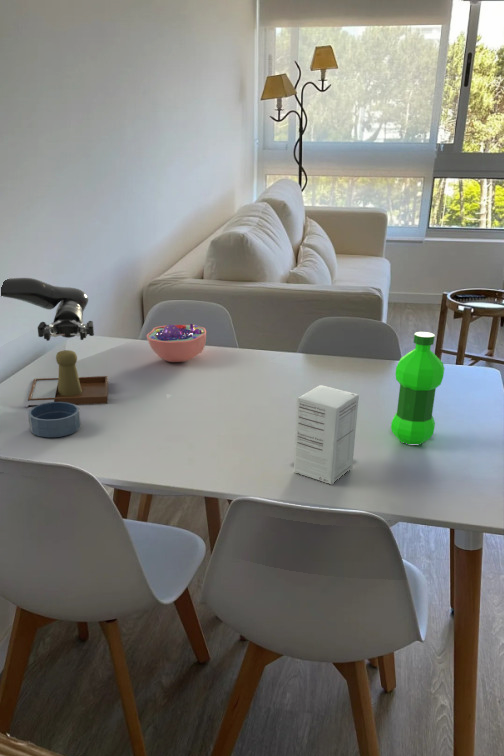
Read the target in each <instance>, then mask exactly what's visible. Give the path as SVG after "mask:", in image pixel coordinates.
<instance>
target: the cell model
mask: <svg viewBox="0 0 504 756" xmlns="http://www.w3.org/2000/svg"><path fill="white" fill-rule="evenodd" d="M146 339H147V342H148V344H149V347H150V349H151V350H152V351H153V352H154V353H155V355H156V356H157V357H159V358H160V359H162V360H163V361H166V362H168V363H183V362H187V361H191V360H193V359H194V358H195V357H197V356H198V355H200V354H201V353H203V351H204V349H205V347H206V341H207V330H206V328H205V327H203V326H199V325H197V324H193V323H190V324H167V325H160V326H155V327H153V328H152V330H150V332H148V333H147V334H146Z"/></svg>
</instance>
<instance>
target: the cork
mask: <svg viewBox="0 0 504 756" xmlns="http://www.w3.org/2000/svg"><path fill="white" fill-rule="evenodd" d="M55 361H56V363H57V365H58V377H57V378H58V380H57V385H58V394H59V395H60V396H65V397H70V396H77V395H79V394H81V393H82V390H81V386H80V382H79V377H80V376H79V373H78V369H77V365H76V363H78V355H77V353H76V352H75V351H73V350H69V349H67V350H66V349H65V350H60V351H58V352H56V355H55Z"/></svg>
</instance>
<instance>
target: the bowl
mask: <svg viewBox="0 0 504 756" xmlns="http://www.w3.org/2000/svg"><path fill="white" fill-rule="evenodd" d="M36 405H37V406H34V407H30V409H28V413H27V417H28V418H27V419H28V424H29V431H30V432H31V433H32V435H35V436H38V437H43V438H61V437H66V436H69V435H72V434H74V433H76V432H77V431H79V430H80V429H81V426H82V424H81V422H82V421H81V413H80V411H81V410H80V407H79V405H75V404H72V403H68V402H54V401H50V402H49V401H48V402H45V403H44V402H43V403H40V404H36Z"/></svg>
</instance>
